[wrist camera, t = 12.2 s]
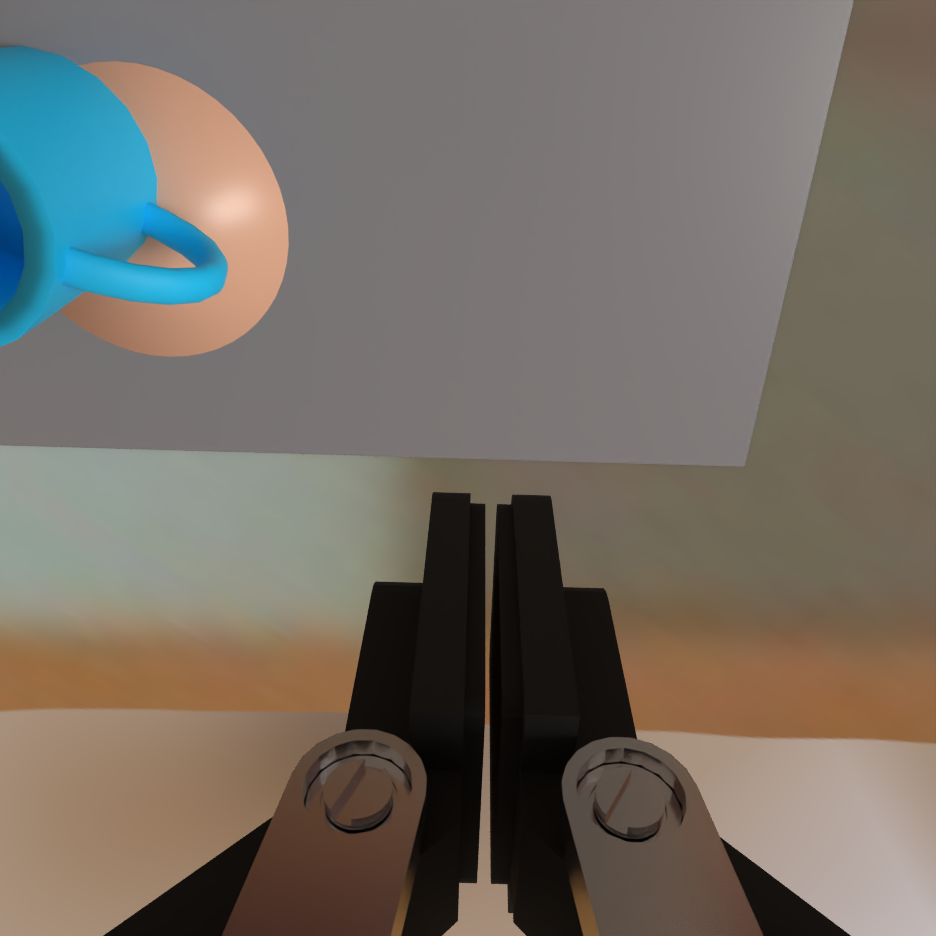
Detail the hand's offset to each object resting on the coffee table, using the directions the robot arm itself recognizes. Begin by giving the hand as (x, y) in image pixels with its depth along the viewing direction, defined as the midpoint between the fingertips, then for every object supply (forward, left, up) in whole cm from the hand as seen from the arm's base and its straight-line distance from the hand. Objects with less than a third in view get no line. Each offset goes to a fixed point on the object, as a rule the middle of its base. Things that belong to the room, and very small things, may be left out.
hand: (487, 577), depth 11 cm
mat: (0, -5, -22) cm, 22 cm away
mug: (-1, -15, -22) cm, 26 cm away
